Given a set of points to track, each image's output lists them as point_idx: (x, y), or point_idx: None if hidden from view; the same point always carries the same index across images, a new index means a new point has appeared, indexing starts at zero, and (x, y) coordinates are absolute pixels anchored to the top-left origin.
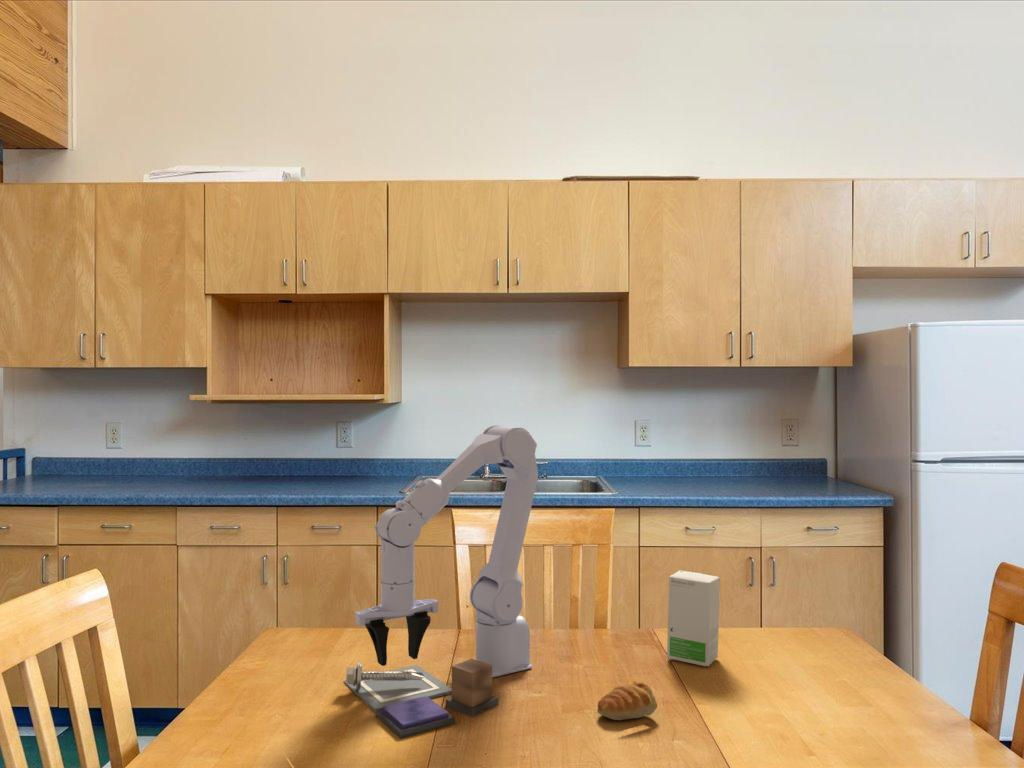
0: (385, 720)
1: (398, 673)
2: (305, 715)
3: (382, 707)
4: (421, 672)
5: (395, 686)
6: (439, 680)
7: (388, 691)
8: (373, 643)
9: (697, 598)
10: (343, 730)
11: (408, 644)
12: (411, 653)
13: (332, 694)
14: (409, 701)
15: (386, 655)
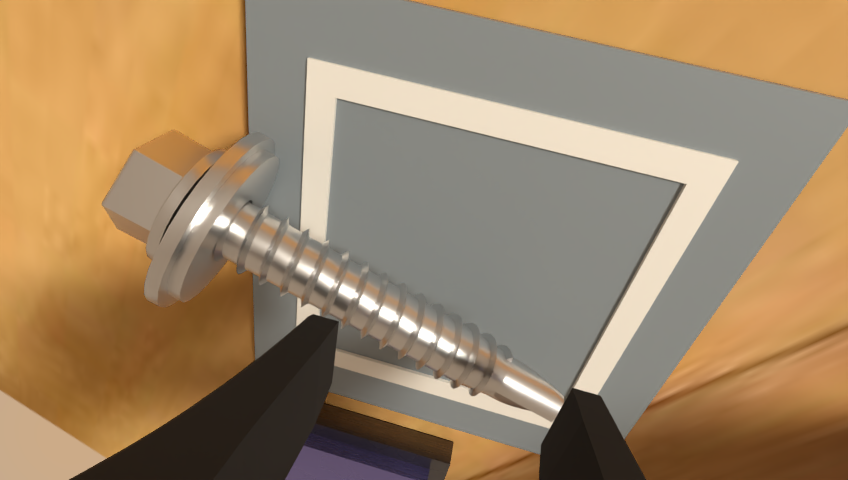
0: None
1: (425, 365)
2: (18, 196)
3: None
4: (548, 419)
5: (446, 280)
6: (663, 382)
7: None
8: (185, 414)
9: None
10: (132, 371)
11: (595, 463)
12: (557, 447)
13: (156, 77)
14: (348, 467)
15: (293, 458)
